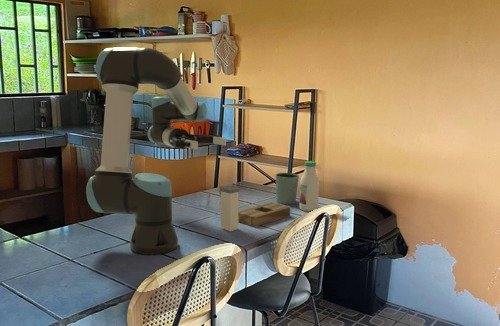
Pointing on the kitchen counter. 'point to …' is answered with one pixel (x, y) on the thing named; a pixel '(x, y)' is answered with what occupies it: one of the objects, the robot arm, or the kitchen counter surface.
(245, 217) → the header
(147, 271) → the kitchen counter surface
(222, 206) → the plug
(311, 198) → the milk bottle
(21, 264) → the kitchen counter surface
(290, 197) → the green cup
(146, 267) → the kitchen counter surface
